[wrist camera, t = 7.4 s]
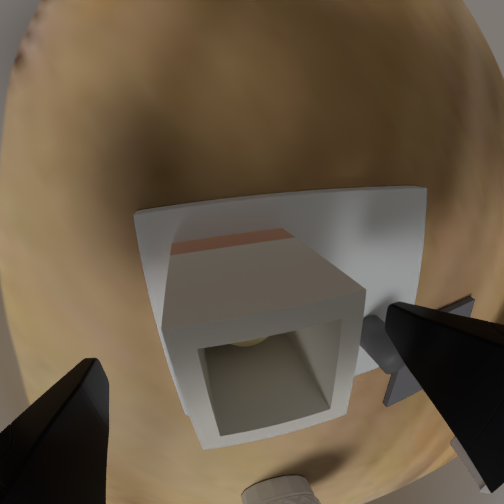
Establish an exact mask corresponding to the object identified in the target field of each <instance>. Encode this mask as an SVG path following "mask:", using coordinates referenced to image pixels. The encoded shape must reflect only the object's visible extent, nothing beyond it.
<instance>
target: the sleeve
mask: <svg viewBox="0 0 504 504" xmlns="http://www.w3.org/2000/svg"><path fill="white" fill-rule="evenodd" d="M365 299H366V289H365V288H364V287H362V286H361V285H360V284H358V283H357V282H356V281H354V280H353V279H352V278H350V277H349V276H348V275H346V274H345V273H344V272H342V271H341V270H340V269H338V268H337V267H336V266H334V265H333V264H332V263H330V262H329V261H327V260H326V259H325V258H323V257H322V256H321V255H319V254H318V253H317V252H315V251H314V250H312V249H311V248H310V247H308V246H307V245H305V244H304V243H303V242H301V241H300V240H298V239H297V238H296V237H294V236H293V235H291V234H290V233H289V232H287V231H286V230H284V229H283V228H277V229H269V230H262V231H254V232H247V233H240V234H232V235H225V236H218V237H211V238H204V239H197V240H190V241H183V242H177V243H172V245H171V251H170V258H169V265H168V273H167V280H166V288H165V297H164V306H163V315H162V325H161V330H162V334H163V337H164V341H165V344H166V348H167V351H168V354H169V358H170V361H171V364H172V367H173V370H174V373H175V377H176V380H177V383H178V386H179V388H180V391H181V394H182V397H183V400H184V403H185V405H186V408H187V411H188V414H189V416H190V419H191V422H192V424H193V427H194V429H195V432H196V434H197V437H198V439H199V442H200V444H201V446H202V449H203V450H206V449H213V448H220V447H226V446H232V445H237V444H242V443H247V442H252V441H257V440H261V439H266V438H270V437H274V436H278V435H282V434H286V433H290V432H293V431H297V430H300V429H304V428H307V427H310V426H313V425H317V424H320V423H323V422H326V421H329V420H332V419H334V418H337V417H340V416H343V415H345V414H346V412H347V408H348V403H349V399H350V394H351V389H352V384H353V379H354V374H355V369H356V363H357V357H358V351H359V345H360V339H361V332H362V324H363V317H364V308H365ZM267 336H268V337H267ZM262 337H267V338H266V339H265V340H264V341H262V342H261V343H259V344H256V345H253V346H249V347H240V346H236V345H233V344H231V343H236V342H242V341H247V340H252V339H257V338H262Z"/></svg>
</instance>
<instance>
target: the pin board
mask: <svg viewBox="0 0 504 504" xmlns="http://www.w3.org/2000/svg"><path fill="white" fill-rule="evenodd" d="M426 204H427V188H424V187H420V186H379V187H355V188H337V189H321V190H307V191H294V192H283V193H271V194H261V195H251V196H242V197H233V198H224V199H216V200H208V201H200V202H192V203H185V204H178V205H171V206H164V207H157V208H151V209H144V210H138V211H136V213H135V214H134V215H133V218H134V224H135V230H136V235H137V241H138V246H139V251H140V256H141V261H142V266H143V271H144V275H145V280H146V284H147V289H148V293H149V297H150V301H151V305H152V309H153V313H154V317H155V321H156V324H157V328H158V332H159V335H160V339H161V342H162V346H163V349H164V352H165V356H166V359H167V362H168V365H169V368H170V372H171V375H172V378H173V381H174V384H175V387H176V389H177V392H178V395H179V398H180V401H181V404H182V406H183V409H184V412H185V414H186V415H189V414H188V411H187V408H186V405H185V403H184V400H183V397H182V394H181V391H180V388H179V386H178V383H177V380H176V377H175V373H174V370H173V367H172V364H171V361H170V358H169V354H168V351H167V348H166V344H165V341H164V337H163V334H162V330H161V325H162V315H163V306H164V297H165V288H166V280H167V273H168V265H169V258H170V251H171V245H172V243H177V242H183V241H190V240H197V239H204V238H211V237H218V236H225V235H232V234H240V233H247V232H254V231H262V230H269V229H277V228H283V229H284V230H286V231H287V232H289V233H290V234H291V235H293V236H294V237H296V238H297V239H298V240H300V241H301V242H303V243H304V244H305V245H307V246H308V247H310V248H311V249H312V250H314V251H315V252H317V253H318V254H319V255H321V256H322V257H323V258H325V259H326V260H327V261H329V262H330V263H332V264H333V265H334V266H336V267H337V268H338V269H340V270H341V271H342V272H344V273H345V274H346V275H348V276H349V277H350V278H352V279H353V280H354V281H356V282H357V283H358V284H360V285H361V286H362V287H364V288H365V289H366V299H365V308H364V317H363V324H362V332H361V339H360V345H359V351H358V357H357V363H356V369H355V374H354V376H356V375H359V374H362V373H365V372H367V371H370V370H373V369H375V368H378V367H380V368H381V369H382V370H383V371H384V372H385V373H386V374H393V373H395V372H397V371H399V370H400V369H401V368H402V367H403V366H404V365H405V363H404V362H403V360H402V359H401V357H400V355H399V354H398V352H397V350H396V349H395V347H394V345H393V344H392V342H391V340H390V339H389V337H388V335H387V334H386V332H385V328H384V324H385V318H386V312H387V307H388V306H389V305H390V304H392V303H395V302H398V301H400V302H405V303H409V304H413V305H414V304H415V299H416V293H417V287H418V281H419V275H420V268H421V261H422V252H423V243H424V233H425V221H426ZM267 337H268V336H267ZM267 337H262V338H257V339H252V340H247V341H242V342H236V343H231V344H233V345H236V346H240V347H249V346H253V345H256V344H259V343H261V342H262V341H264V340H265V339H266V338H267Z"/></svg>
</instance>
